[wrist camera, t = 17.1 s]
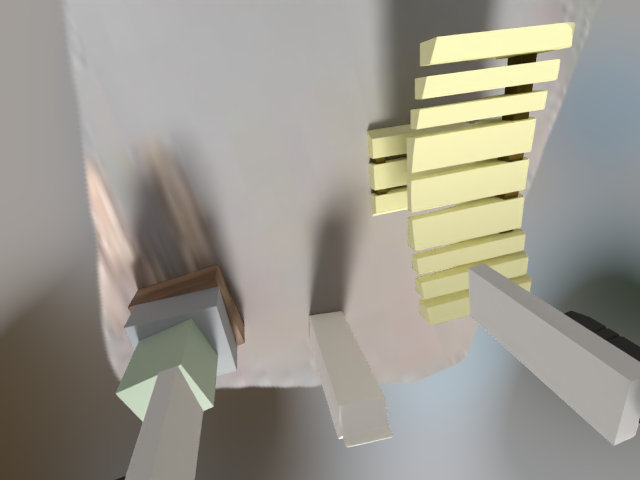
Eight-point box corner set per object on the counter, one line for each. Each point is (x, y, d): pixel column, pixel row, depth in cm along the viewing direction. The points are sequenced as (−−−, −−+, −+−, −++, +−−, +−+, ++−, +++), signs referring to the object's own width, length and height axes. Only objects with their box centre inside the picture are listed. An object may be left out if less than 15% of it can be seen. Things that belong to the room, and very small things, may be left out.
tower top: (135, 305, 43) (123, 328, 38) (218, 286, 44) (216, 306, 40) (162, 365, 47) (154, 392, 43) (237, 346, 49) (236, 370, 44)
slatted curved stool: (458, 243, 57) (543, 295, 41) (374, 262, 54) (430, 325, 38) (469, 51, 45) (596, 19, 29) (362, 64, 42) (437, 36, 26)
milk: (309, 314, 55) (346, 428, 35) (342, 310, 57) (396, 417, 37) (309, 343, 58) (344, 464, 38) (341, 338, 59) (392, 453, 39)
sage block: (138, 341, 39) (115, 393, 32) (191, 317, 40) (180, 364, 32) (169, 378, 42) (154, 433, 35) (218, 356, 43) (213, 406, 36)
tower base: (138, 288, 47) (127, 307, 43) (217, 263, 48) (215, 278, 44) (173, 347, 52) (167, 370, 48) (244, 323, 53) (244, 343, 49)
